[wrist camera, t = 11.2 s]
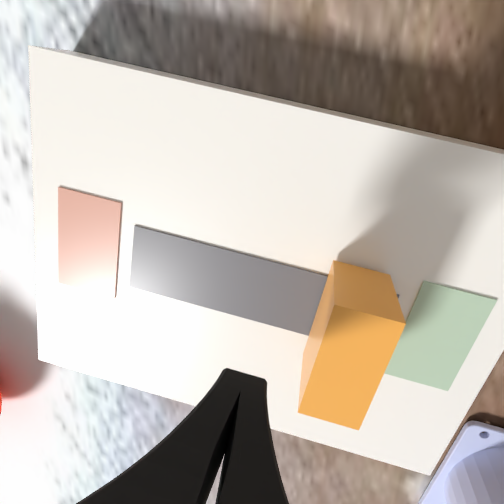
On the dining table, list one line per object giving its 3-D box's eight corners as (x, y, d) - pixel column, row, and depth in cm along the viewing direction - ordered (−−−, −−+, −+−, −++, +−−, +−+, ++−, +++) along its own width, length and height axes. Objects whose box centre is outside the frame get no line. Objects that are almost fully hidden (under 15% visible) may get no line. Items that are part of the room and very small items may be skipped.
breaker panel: (559, 162, 17) (606, 178, 14) (417, 429, 23) (430, 477, 20) (72, 51, 18) (26, 45, 16) (69, 329, 25) (37, 360, 22)
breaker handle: (389, 274, 16) (406, 323, 13) (353, 367, 18) (358, 430, 15) (333, 259, 17) (334, 304, 13) (303, 353, 19) (297, 412, 15)
